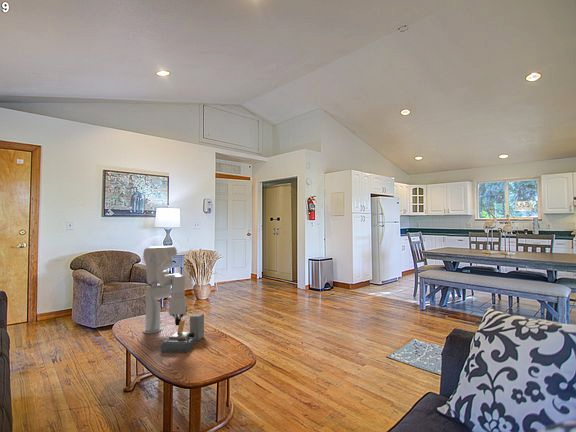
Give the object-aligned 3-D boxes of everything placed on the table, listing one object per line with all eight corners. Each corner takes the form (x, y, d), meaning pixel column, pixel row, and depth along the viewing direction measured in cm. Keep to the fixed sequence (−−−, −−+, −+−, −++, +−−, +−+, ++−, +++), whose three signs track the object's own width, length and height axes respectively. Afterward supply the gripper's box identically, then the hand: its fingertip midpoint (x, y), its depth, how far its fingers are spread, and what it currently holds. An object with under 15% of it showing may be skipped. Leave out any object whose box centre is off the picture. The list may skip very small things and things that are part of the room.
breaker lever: (180, 331, 191) (182, 318, 191) (182, 332, 191) (185, 319, 191) (176, 334, 186) (179, 321, 186) (179, 335, 186) (182, 321, 186)
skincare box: (198, 341, 198) (199, 317, 199) (188, 340, 200) (189, 316, 200) (204, 336, 206) (205, 313, 207) (194, 335, 208) (195, 312, 208)
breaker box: (171, 341, 196) (172, 329, 197) (196, 342, 196) (196, 329, 196) (160, 352, 180) (161, 338, 181) (187, 352, 180) (187, 339, 180)
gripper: (164, 296, 186) (163, 326, 185) (188, 296, 185) (187, 326, 184) (169, 293, 193) (168, 323, 192) (192, 294, 193) (191, 323, 192)
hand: (177, 324), depth 188 cm, fingers closed
